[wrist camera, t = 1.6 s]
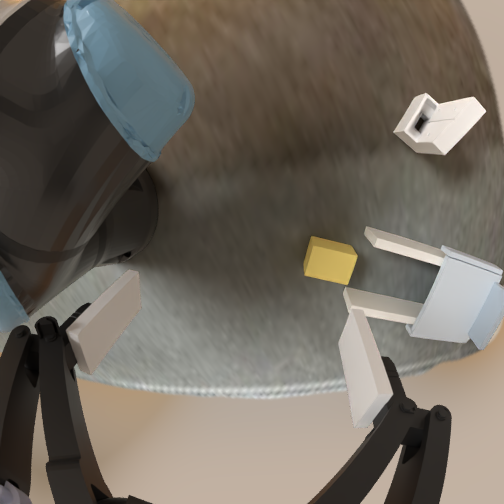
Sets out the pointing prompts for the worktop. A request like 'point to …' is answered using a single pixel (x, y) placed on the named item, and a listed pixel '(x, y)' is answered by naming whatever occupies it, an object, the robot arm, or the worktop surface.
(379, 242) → the long white channel rail
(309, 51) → the worktop surface
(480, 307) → the cover
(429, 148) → the white angled block
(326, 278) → the mustard yellow cuboid
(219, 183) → the worktop surface
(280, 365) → the worktop surface
